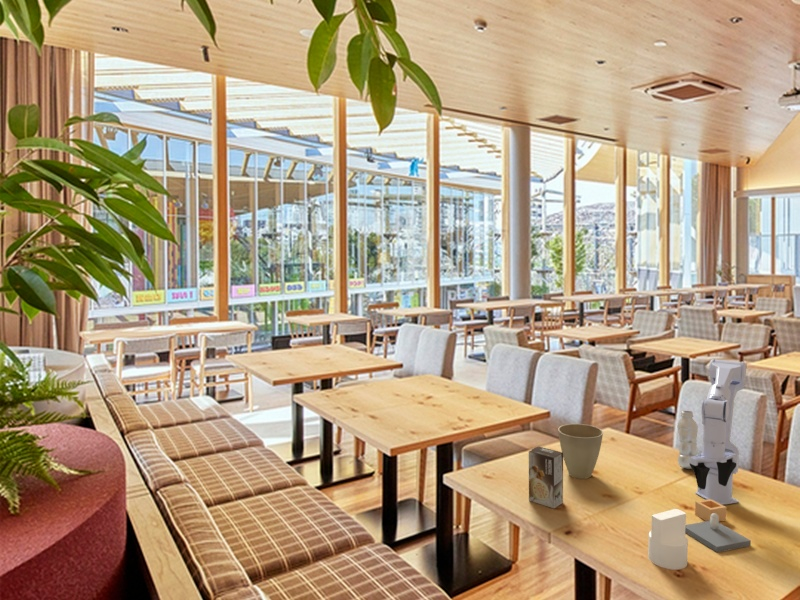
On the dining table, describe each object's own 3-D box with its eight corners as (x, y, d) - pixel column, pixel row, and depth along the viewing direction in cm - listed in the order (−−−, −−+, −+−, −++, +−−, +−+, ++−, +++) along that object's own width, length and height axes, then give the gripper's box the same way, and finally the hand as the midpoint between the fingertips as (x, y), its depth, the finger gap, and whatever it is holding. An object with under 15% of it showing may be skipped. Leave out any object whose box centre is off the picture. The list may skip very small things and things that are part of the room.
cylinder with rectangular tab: (669, 573, 140) (670, 525, 139) (640, 555, 148) (641, 510, 147) (695, 564, 144) (697, 518, 143) (665, 547, 152) (667, 503, 151)
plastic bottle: (675, 466, 207) (673, 410, 209) (696, 467, 206) (693, 410, 208) (681, 470, 201) (679, 412, 202) (702, 470, 200) (699, 412, 201)
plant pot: (556, 465, 209) (556, 422, 208) (599, 468, 206) (599, 424, 205) (558, 481, 195) (559, 436, 193) (605, 485, 192) (606, 438, 190)
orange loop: (694, 514, 170) (695, 501, 170) (710, 511, 171) (710, 499, 171) (710, 523, 165) (710, 509, 164) (725, 520, 166) (726, 507, 166)
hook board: (682, 530, 160) (682, 510, 160) (714, 524, 163) (714, 505, 163) (716, 552, 149) (717, 531, 148) (750, 545, 152) (751, 524, 151)
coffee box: (564, 502, 179) (564, 452, 178) (554, 509, 175) (554, 458, 173) (537, 494, 185) (538, 445, 184) (527, 500, 181) (527, 451, 179)
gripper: (704, 447, 160) (702, 494, 161) (745, 442, 164) (743, 488, 165) (685, 439, 167) (683, 485, 168) (725, 435, 171) (723, 479, 172)
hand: (712, 486), depth 167 cm, fingers open, 7 cm apart
